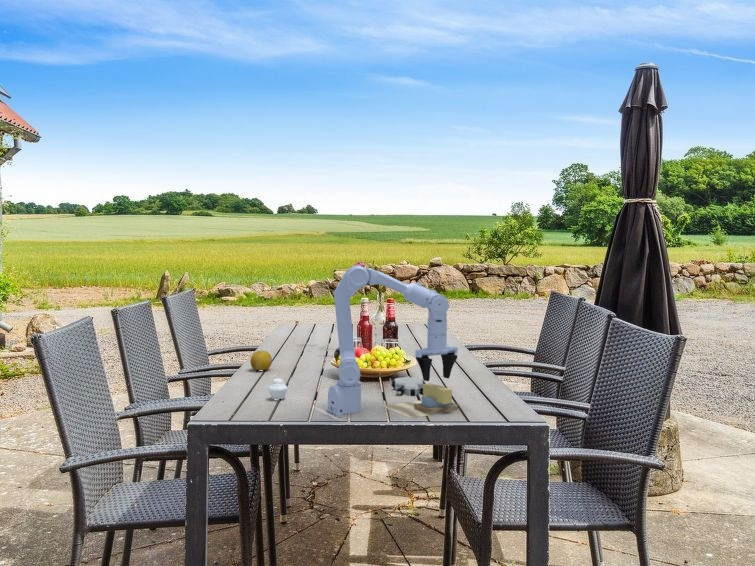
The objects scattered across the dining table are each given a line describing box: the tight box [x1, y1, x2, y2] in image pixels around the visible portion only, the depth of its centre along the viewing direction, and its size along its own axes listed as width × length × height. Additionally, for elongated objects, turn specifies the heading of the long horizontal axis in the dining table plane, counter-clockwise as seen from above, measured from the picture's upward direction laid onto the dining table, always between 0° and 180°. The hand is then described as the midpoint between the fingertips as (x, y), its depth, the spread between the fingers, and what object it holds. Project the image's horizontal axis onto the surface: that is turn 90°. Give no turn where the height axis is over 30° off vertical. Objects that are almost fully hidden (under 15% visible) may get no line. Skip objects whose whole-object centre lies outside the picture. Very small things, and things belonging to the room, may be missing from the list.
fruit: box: [250, 350, 273, 371], centre depth 251 cm, size 9×8×8 cm
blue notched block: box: [421, 395, 451, 408], centre depth 189 cm, size 8×4×4 cm, turn 123°
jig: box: [381, 399, 460, 419], centre depth 190 cm, size 18×16×2 cm
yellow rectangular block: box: [422, 382, 453, 404], centre depth 188 cm, size 10×3×4 cm, turn 33°
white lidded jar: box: [268, 377, 288, 401], centre depth 204 cm, size 6×6×7 cm
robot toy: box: [389, 376, 427, 397], centre depth 213 cm, size 12×4×15 cm
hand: (436, 379), depth 188 cm, fingers open, 7 cm apart
